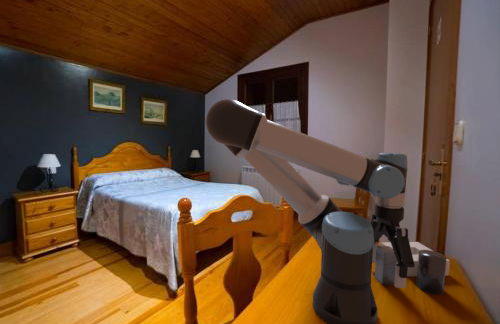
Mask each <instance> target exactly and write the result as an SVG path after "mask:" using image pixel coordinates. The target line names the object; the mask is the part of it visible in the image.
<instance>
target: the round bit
mask: <svg viewBox="0 0 500 324" xmlns="http://www.w3.org/2000/svg"><path fill="white" fill-rule="evenodd" d="M431 250H432V249H431ZM431 250H420V251H419V256H418V269H417V276H416V283H415V285H416V287H417V288H418V289H419V290H421V291H423V292H425V293H428V294H431V295H434V296H435V295H436V296H440V295H443V294H444V293H445V282H446V281H445V279H446V276H445V271H446V259H448V258H447V256H445V255H444V254H443V253H440V252H437V251H434V250H432V251H431Z"/></svg>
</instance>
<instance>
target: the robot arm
mask: <svg viewBox="0 0 500 324" xmlns="http://www.w3.org/2000/svg"><path fill="white" fill-rule="evenodd" d="M205 126H206V129H207V132H208V135H210V137H211V138H212V139H213V140H215V142H218V143H219V144H222V145H224V146H225V148H227V149H228V150H229V151H230V152H231V153H232V154H233V156H234V157H236V158H244V160H246V162H248V164H249V165H250V166H251V167H253V169H254V170H255V171H256V172H257V173H258V174H259V175H260V176H261V177H262V178H263V179H264V180H265V182H266V183H268V184H269V185H270V186H271V188H273V189H274V190H275V192H276V193H277V194H278V195H279V196H280V197H281V198H282V199H283V200H284V201H285V202H286V203H287V204H288V205H289V206H290V207H291V208H292V209H293V210H294V212H295V213H297V214H298V217H297V218H298V220H297V221H298V223H300V225H301V226H302V227H304V229H305V230H306V231H307V232H308V233H309V234H310V235H311V236H312V237H313V239H314V240H315V242H316V243H317V245H318V247H319V249H320V251H321V253H320V254H321V260H320V276H319V278H318V281H317V283H316V286H315V288H314V291H313V293H312V307H313V310H314V312H315V313H316V315H317V316H318V317H319V318H320V319H321V320H322V321H324V322H325V323H326V324H377V322H378V313H379V312H378V311H379V310H378V306H377V305H378V304H377V302H376V299H375V295H374V291H373V289H372V272H373V264H375V263H376V246H380V244H379V240H380V239H381V238H382V237H383V236H384V237H386V238H387V240H388V241H389V242H391V245H392V248H393V251H394V253H395V256H396V259H397V262H398V264H396V266H395V281H394V284H393V286H394V287H395V288H396V289H399V288H400V289H401V288H403V289H405V288H406V287H407V286H406V284H407V283H406V282H407V278H408V276H407V270H408V267H415V265H414V260H413V256H412V252H411V248H410V243H409V242H410V240H409V229H408V228H405V227H401V225H400V222H402V221H403V220H404V217H405V207H404V206H405V198H406V189H407V187H406V186H407V176H408V170H409V168H408V157H407V155H406V154H405V153H401V152H380V153H378V155H377V157H376V159H370V158H367V157H365V156H363V155H361V154H360V155H359V154H357V153H355V152H352V151H350V150H347V149H345V148H342V147H340V146H336V145H334V144H331V143H329V142H327V141H324V140H321V139H318V138H316V137H313V136H312V135H308V134H306V133H304V132H303V133H302V132H300V131H297V130H295V129H292V128H290V127H288V126H284V125H282V124H279V123H277V122H274V121H271V120H269V119H268V118H267V116H266V114H265V113H263V112H262V111H257V110H256V109H253V108H251V107H250V106H247V105H246V104H243V103H242V102H240V101H238V100H234V99H229V98H228V99H227V98H226V99H221V100H219V101H217V102H214V104H212V106H211V107H210V108H209V110H208V112H207V114H206V117H205ZM291 163H292V164H295V165H297V166H299V167H302V168H305V169H308V170H309V171H313V172H316V173H317V174H321V175H324V176H326V177H328V178H331V179H333V180H336V183H337V184H339V185H341V186H342V185H344V186H348V187H349V186H352V187H354V188H356V189H359V190H362V191H363V192H367V193H369V194H372V195H373V196H375V199H374V200H375V201H374V202H375V203H376V204H375V205H374V214H372V215H371V221H369V220H367V219H366V218H365V217H363V216H361V215H356V214H355V213H352V212H347V211H343V210H342V209H341V208H340V207H339V206H338V205H337V204H336V203H335V202H334V201H333V200H332V199H331V198H330V197H329V195H326V194H319V193H318V192H317V191H316V190H315V189H314V187H313V186H312V185H311V184H310V183H309V182H308V181H307V180H306V179H305V178H304V177H303V175H301V174H300V173H299V172H298V170H296V169H295V167H294V166H293V165H291ZM401 260H402V261H401Z"/></svg>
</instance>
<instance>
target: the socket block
mask: <svg viewBox="0 0 500 324" xmlns="http://www.w3.org/2000/svg"><path fill="white" fill-rule="evenodd" d="M409 243H410V248H411V252H412V256H413V260H414V265H415V267H408V270H407V277H417V269H418V256H419V251H420V250H431V251H433V250H432V249H431V248H429V247H427V246H425V245H424V244H423V243H420V242H419V241H409ZM380 246H390V247H391V248H392V245H391V242H390V241H389V242H386V241H385V242H382V241H381V242H380ZM392 249H393V248H392ZM401 261H402V260H401ZM450 261H451V260H450V259H448V258H447V259H446V271H445V277H446V276H449V273H450ZM397 264H398V262H397Z"/></svg>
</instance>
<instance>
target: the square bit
mask: <svg viewBox="0 0 500 324" xmlns="http://www.w3.org/2000/svg"><path fill="white" fill-rule="evenodd" d="M396 264H397V259H396V256H395V253H394V251H393V249H392V248H391V247H390V246H381V245H379V246H376V263H374V265H375V266H374V267H375V268H374V278H375V279H376V280H377V281H378V283H380V284H381V286H382V285H387V286H388V285H394V281H395V266H396Z"/></svg>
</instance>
